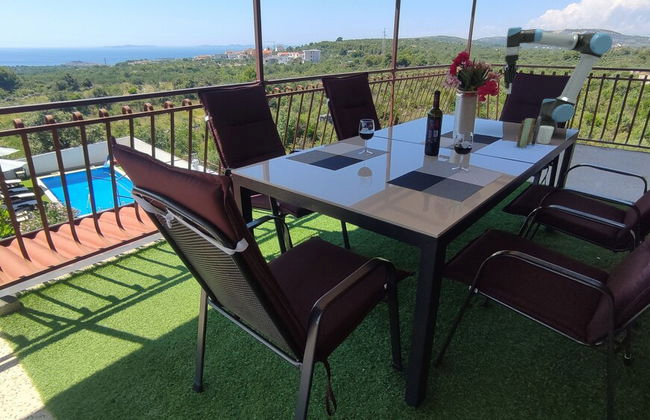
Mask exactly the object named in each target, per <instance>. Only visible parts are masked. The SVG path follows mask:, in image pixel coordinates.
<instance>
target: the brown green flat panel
mask: <svg viewBox="0 0 650 420" xmlns="http://www.w3.org/2000/svg"><path fill="white" fill-rule="evenodd" d="M531 119H532V123H531V127H530V131H529V135H528V139H527V144H526V145H529V144H531V142H532V138H533V134H534V132H533V129H534V126H535V125H536V121H537V119H536V118H531ZM524 123H525V119H524V120H521V125H520V129H519V133H518V138H517V143H516V146H518V147H519V144H520V140H521V136H522V132H523V127H524Z"/></svg>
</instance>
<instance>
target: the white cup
mask: <svg viewBox="0 0 650 420" xmlns="http://www.w3.org/2000/svg"><path fill="white" fill-rule="evenodd" d="M553 130H554V127H551V126H540V128H539V133H538V134H537V138H536V143H537V144H540V145H541V144H542V145H548V144H550V142H551V140H552V139H551V138H552V136H553V135H552V133H553Z"/></svg>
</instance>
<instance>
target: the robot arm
mask: <svg viewBox="0 0 650 420" xmlns="http://www.w3.org/2000/svg"><path fill="white" fill-rule="evenodd" d="M521 44H528V45H529V44H530V45H539V46H545V47H546V46H547V47H555V48H564V49H568V51H574V52H578V53H579V56H580V58H579V60H578V62H577V64H576V66H575V68H574V69H573V71H572V73H571V76H570V78H568V81H567V82H566V84H565V87H564V89H563V91H562V93H561V94H560V96H557V97H556V98H544V99H543V100H542V103H541V105H540V106H541V107H540V112H539V115H538V116H540V117H542V118H541V122H540V126H551V127H554V130H553V133H552V136H553V135H558V123H565V122H567V121H569V120H571V119H572V118H573V116H574V114H575V106H576V98H577V96H578V95H579V93H580V91H581V89H582V87H583V86H584V84H585V82H586V80H587V78H588V76H589V75H590V73H591V71H592V69H593V67H594V66H595V63H596V62H597V61H599V60H601V59H602V56H603V55H604V54H605V53H607V52H608V51H609V50H610V49H611V48H612V45H613V38H612V36H611V35H610V34H609V33H606V32H595V33H593V32H590V33H589V32H588V33H574V34H565V33H557V32H548V31H547V32H545V31H543V29H541V28H533V29H532V28H531V29H523V28H522V27H521V26H515V27H509V28H508V29H507V34H506V46H505V47H506V48H505V56H504V62H505V63H506V64H505V66H503V69H502V70H503V81H504V82H503V83H504V84H505V94H506V95H511V93H512V84H513V83H514V82H515V78H516V75H517V70H518V68H519V65H517V62H518V61H519V58H520V57H519V54H520V47H521ZM540 126H539V128H540ZM535 127H536V124H535V125H534V129H533V133H534V131H535ZM538 133H539V130H538Z"/></svg>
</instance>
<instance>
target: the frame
mask: <svg viewBox="0 0 650 420" xmlns="http://www.w3.org/2000/svg"><path fill="white" fill-rule="evenodd" d="M536 118H537V119H536V122H535V125H536V127H535V131H534V132H533V134H532V138H531V142H530V144H531V145H532V146H533V145H534V146H535V145H536V143H537V139H538V130H539V126H540V122H541V118H542V117H540V116H539V115H538V116H537V117H536ZM532 119H533V118H525V119H524V120H525V123H524V127H523V132H522V136H521V140H520V144H519V146H518V148H521V149H523V148H526V147H527V145H528V144H527V139H528V135H529V131H530V127H531V123H532Z"/></svg>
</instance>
